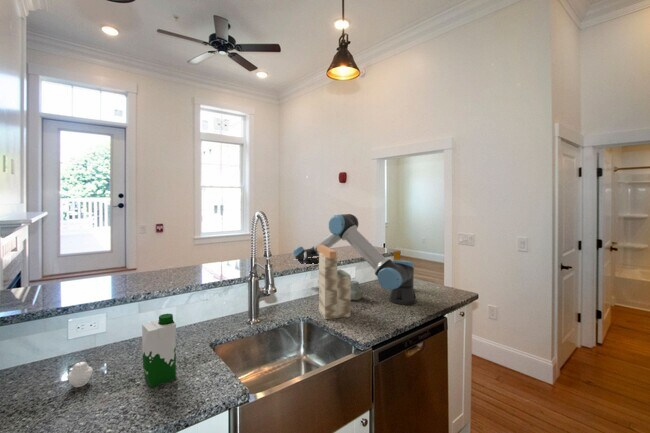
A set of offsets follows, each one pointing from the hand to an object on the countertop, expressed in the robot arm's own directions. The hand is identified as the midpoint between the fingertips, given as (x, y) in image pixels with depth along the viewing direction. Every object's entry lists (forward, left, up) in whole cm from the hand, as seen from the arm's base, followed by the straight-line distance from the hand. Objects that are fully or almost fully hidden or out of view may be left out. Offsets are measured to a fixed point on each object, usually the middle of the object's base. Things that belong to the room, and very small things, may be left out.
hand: (317, 253), depth 173 cm
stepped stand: (-3, +21, -27) cm, 34 cm away
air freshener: (-21, +2, -27) cm, 35 cm away
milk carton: (+67, +61, -27) cm, 95 cm away
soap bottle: (-55, -10, -27) cm, 62 cm away
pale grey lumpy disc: (+90, +58, -27) cm, 110 cm away
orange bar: (0, +19, +3) cm, 19 cm away
